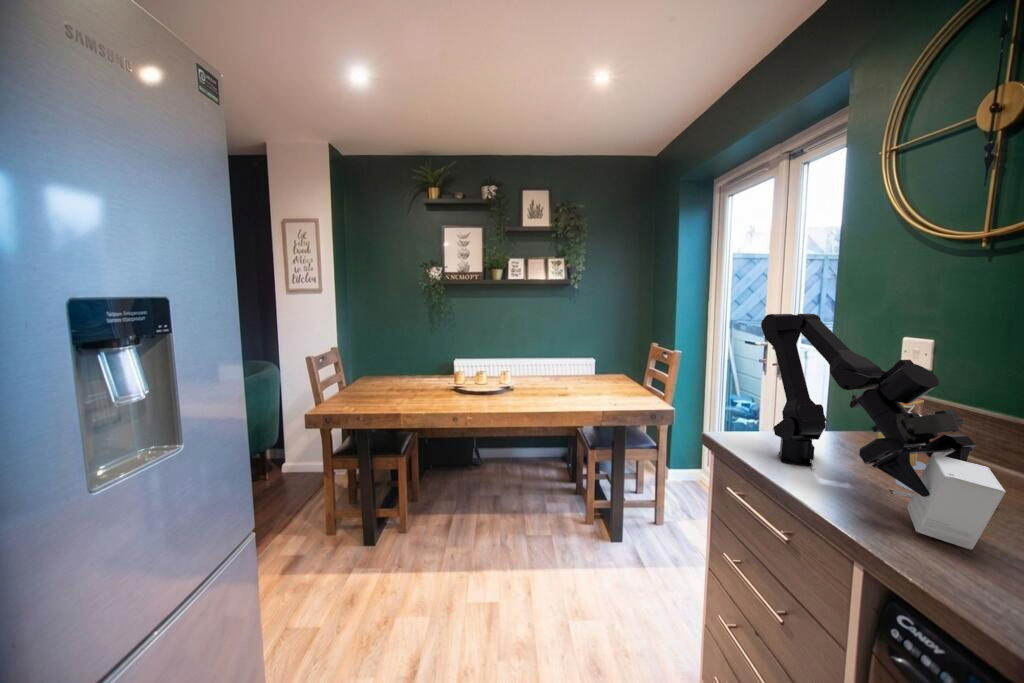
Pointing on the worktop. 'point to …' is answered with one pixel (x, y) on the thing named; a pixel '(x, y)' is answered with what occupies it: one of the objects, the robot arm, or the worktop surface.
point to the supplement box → (955, 501)
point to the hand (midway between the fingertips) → (950, 494)
